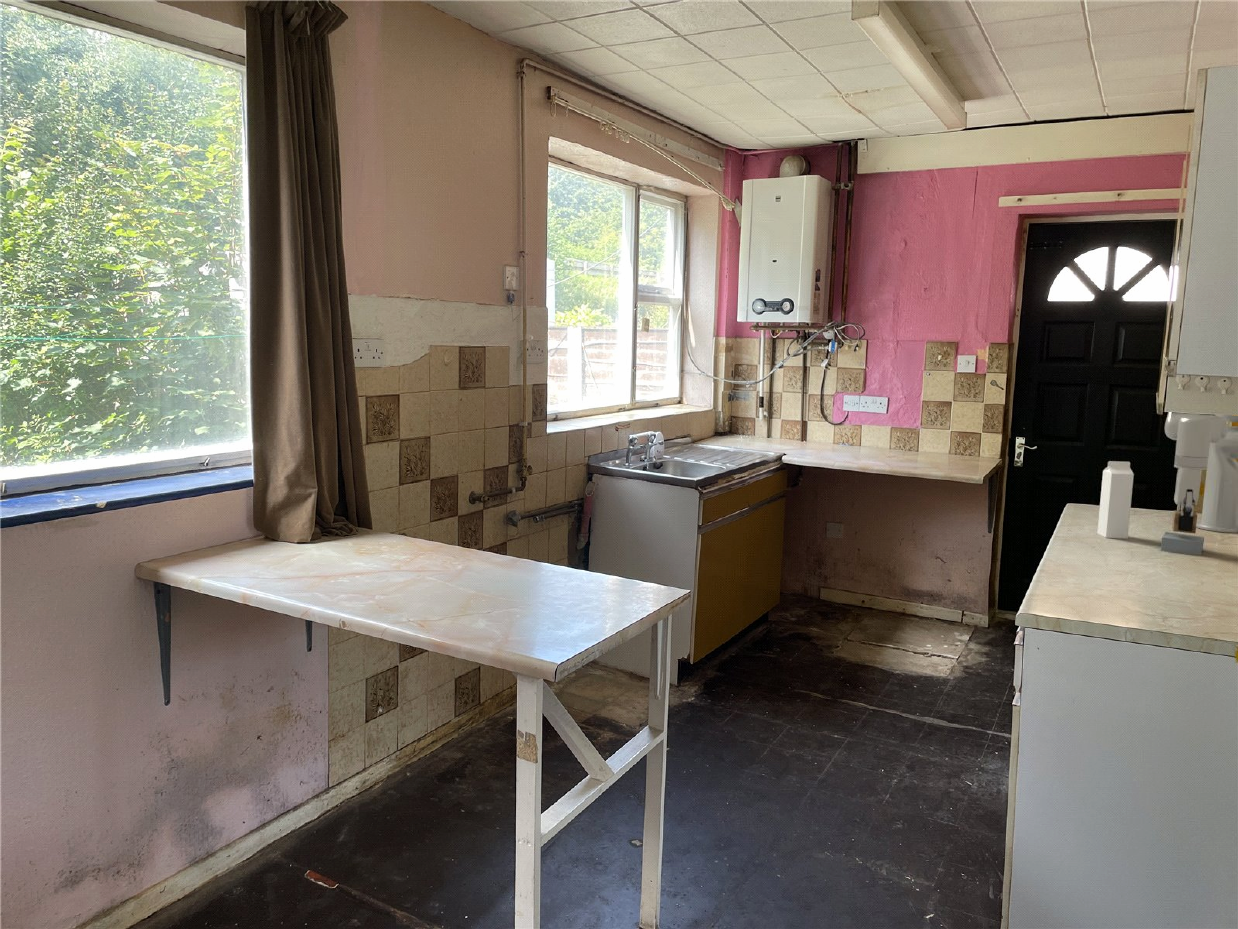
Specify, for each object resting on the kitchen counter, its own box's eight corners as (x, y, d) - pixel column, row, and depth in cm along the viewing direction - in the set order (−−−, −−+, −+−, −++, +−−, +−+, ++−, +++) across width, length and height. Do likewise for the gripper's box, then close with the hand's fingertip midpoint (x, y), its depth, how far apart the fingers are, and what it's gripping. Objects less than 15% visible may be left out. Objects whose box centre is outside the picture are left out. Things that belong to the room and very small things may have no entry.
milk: (1127, 539, 251) (1135, 463, 248) (1105, 538, 252) (1113, 462, 249) (1118, 534, 257) (1125, 460, 254) (1096, 533, 258) (1103, 459, 255)
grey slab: (1202, 551, 239) (1204, 536, 238) (1200, 556, 232) (1201, 542, 231) (1164, 546, 244) (1165, 532, 244) (1160, 551, 237) (1162, 537, 236)
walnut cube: (1193, 530, 238) (1195, 512, 237) (1195, 533, 234) (1197, 515, 233) (1172, 528, 241) (1174, 510, 240) (1173, 531, 236) (1175, 513, 236)
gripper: (1172, 458, 244) (1166, 522, 246) (1176, 464, 229) (1169, 532, 232) (1204, 460, 240) (1198, 525, 243) (1210, 467, 225) (1203, 536, 228)
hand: (1184, 528), depth 237 cm, fingers closed on walnut cube, 5 cm apart
